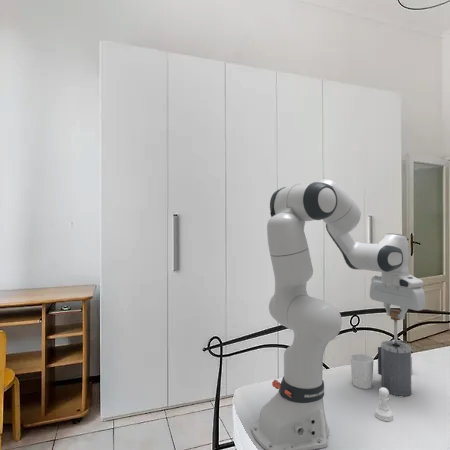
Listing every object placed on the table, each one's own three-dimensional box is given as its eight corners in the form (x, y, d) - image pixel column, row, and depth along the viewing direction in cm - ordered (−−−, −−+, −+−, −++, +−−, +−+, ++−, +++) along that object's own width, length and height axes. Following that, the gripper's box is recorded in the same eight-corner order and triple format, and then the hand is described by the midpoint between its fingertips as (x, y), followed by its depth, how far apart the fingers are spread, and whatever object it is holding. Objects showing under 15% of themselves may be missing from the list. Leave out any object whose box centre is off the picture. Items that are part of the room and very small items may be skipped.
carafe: (398, 399, 112) (398, 352, 112) (370, 383, 123) (370, 341, 123) (417, 393, 116) (417, 347, 116) (388, 378, 127) (388, 337, 127)
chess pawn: (375, 410, 105) (375, 382, 105) (392, 414, 103) (392, 385, 103) (375, 419, 101) (374, 389, 101) (393, 423, 99) (393, 393, 99)
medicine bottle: (412, 375, 130) (412, 344, 130) (394, 375, 130) (393, 344, 130) (402, 367, 137) (402, 338, 137) (385, 367, 137) (385, 338, 137)
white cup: (376, 391, 118) (375, 363, 118) (352, 389, 119) (352, 361, 119) (371, 380, 126) (370, 354, 126) (349, 379, 127) (348, 353, 127)
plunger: (397, 367, 114) (397, 314, 114) (381, 359, 120) (380, 309, 120) (411, 363, 117) (410, 311, 117) (394, 356, 123) (393, 307, 123)
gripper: (365, 275, 127) (365, 311, 127) (415, 283, 108) (415, 326, 108) (377, 274, 129) (377, 309, 129) (428, 282, 111) (428, 323, 111)
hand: (395, 317), depth 118 cm, fingers closed on plunger, 3 cm apart
